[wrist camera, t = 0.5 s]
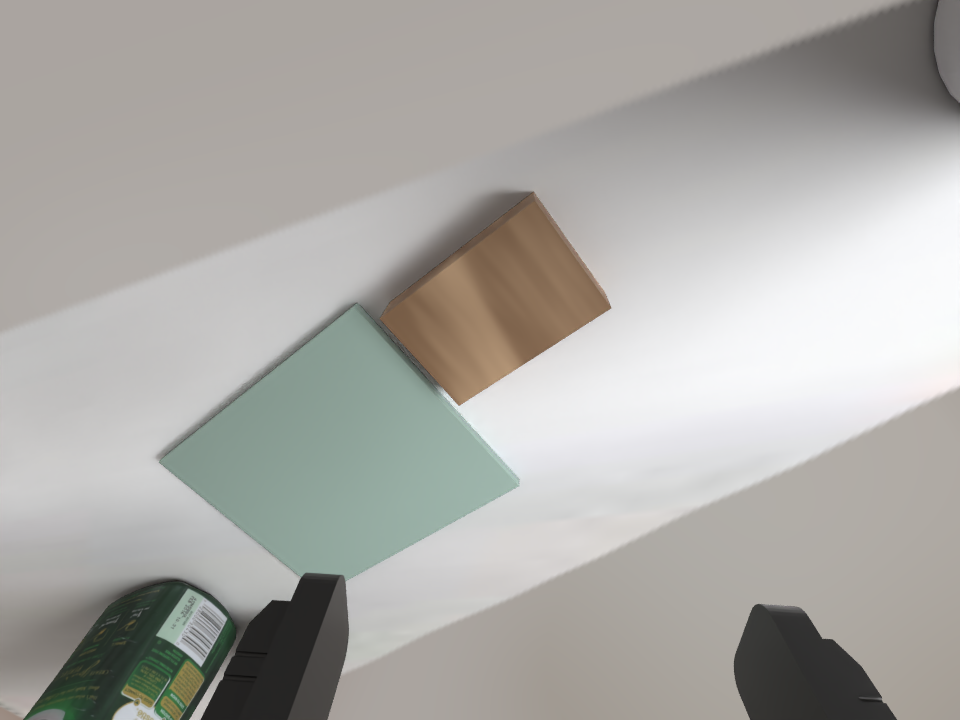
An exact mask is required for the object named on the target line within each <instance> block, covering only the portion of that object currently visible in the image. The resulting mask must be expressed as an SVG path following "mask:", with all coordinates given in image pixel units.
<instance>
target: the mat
mask: <svg viewBox="0 0 960 720" xmlns="http://www.w3.org/2000/svg"><path fill="white" fill-rule="evenodd" d="M159 463H160V464H162V465H163V466H164V467H165V468H166V469H168V470H169V471H170V472H171V473H173V474H174V475H175V476H176V477H178V478H179V479H180V480H181V481H183V482H184V483H185V484H186V485H187V486H189V487H190V488H191V489H192V490H194V491H195V492H196V493H197V494H199V495H200V496H201V497H202V498H204V499H205V500H206V501H207V502H208V503H210V504H211V505H212V506H213V507H215V508H216V509H217V510H218V511H220V512H221V513H222V514H223V515H225V516H226V517H227V518H228V519H229V520H231V521H232V522H233V523H234V524H236V525H237V526H238V527H239V528H241V529H242V530H243V531H244V532H246V533H247V534H248V535H249V536H250V537H252V538H253V539H254V540H255V541H257V542H258V543H259V544H260V545H262V546H263V547H264V548H265V549H267V550H268V551H269V552H270V553H272V554H273V555H274V556H275V557H276V558H278V559H279V560H280V561H281V562H283V563H284V564H285V565H286V566H288V567H289V568H290V569H291V570H293V571H294V572H295V573H296V574H297V575H299V576H300V577H302V576H303V575H304V574H305V573H321V574H336V575H344V577H345V581H347V580H349V579H351V578H353V577H354V576H356V575H358V574H360V573H362V572H363V571H365V570H367V569H369V568H371V567H373V566H374V565H376V564H378V563H380V562H382V561H384V560H385V559H387V558H389V557H391V556H393V555H394V554H396V553H398V552H400V551H402V550H404V549H405V548H407V547H409V546H411V545H413V544H414V543H416V542H418V541H420V540H422V539H424V538H425V537H427V536H429V535H431V534H433V533H435V532H436V531H438V530H440V529H442V528H444V527H445V526H447V525H449V524H451V523H453V522H455V521H456V520H458V519H460V518H462V517H464V516H466V515H467V514H469V513H471V512H473V511H475V510H476V509H478V508H480V507H482V506H484V505H486V504H487V503H489V502H491V501H493V500H495V499H496V498H498V497H500V496H502V495H504V494H506V493H507V492H509V491H511V490H513V489H515V488H517V487H518V486H519V478H518V477H517V476H516V475H515V474H514V473H513V472H512V471H511V470H510V469H509V467H508V466H507V465H506V464H505V463H504V462H503V461H502V460H501V459H500V458H499V457H498V456H497V454H496V453H495V452H494V451H493V450H492V449H491V448H490V447H489V446H488V445H487V444H486V442H485V441H484V440H483V439H482V438H481V437H480V436H479V435H478V434H477V433H476V432H475V430H474V429H473V428H472V427H471V426H470V425H469V424H468V423H467V422H466V421H465V420H464V418H463V417H462V416H461V415H460V414H459V413H458V412H457V411H456V410H455V409H454V408H453V406H452V405H451V404H450V403H449V402H448V401H447V400H446V399H445V398H444V397H443V396H442V394H441V393H440V392H439V391H438V390H437V389H436V388H435V387H434V386H433V385H432V384H431V382H430V381H429V380H428V379H427V378H426V377H425V376H424V375H423V374H422V373H421V372H420V370H419V369H418V368H417V367H416V366H415V365H414V364H413V363H412V362H411V361H410V360H409V358H408V357H407V356H406V355H405V354H404V353H403V352H402V351H401V350H400V349H399V348H398V346H397V345H396V344H395V343H394V342H393V341H392V340H391V339H390V338H389V337H388V336H387V334H386V333H385V332H384V331H383V330H382V329H381V328H380V327H379V326H378V325H377V324H376V322H375V321H374V320H373V319H372V318H371V317H370V316H369V315H368V314H367V313H366V312H365V310H364V309H363V308H362V307H361V306H360V305H359V304H358V303H356V304H355V305H354V306H353V307H351V308H350V309H349V310H348V311H346V312H345V313H344V314H342V315H341V316H340V317H339V318H337V319H336V320H335V321H334V322H332V323H331V324H330V325H329V326H327V327H326V328H325V329H324V330H322V331H321V332H320V333H319V334H317V335H316V336H315V337H314V338H312V339H311V340H310V341H309V342H307V343H306V344H305V345H304V346H302V347H301V348H300V349H298V350H297V351H296V352H295V353H293V354H292V355H291V356H290V357H288V358H287V359H286V360H285V361H283V362H282V363H281V364H280V365H278V366H277V367H276V368H275V369H273V370H272V371H271V372H270V373H268V374H267V375H266V376H265V377H263V378H262V379H261V380H260V381H258V382H257V383H256V384H254V385H253V386H252V387H251V388H249V389H248V390H247V391H246V392H244V393H243V394H242V395H241V396H239V397H238V398H237V399H236V400H234V401H233V402H232V403H231V404H229V405H228V406H227V407H226V408H224V409H223V410H222V411H221V412H219V413H218V414H217V415H216V416H214V417H213V418H212V419H210V420H209V421H208V422H207V423H205V424H204V425H203V426H202V427H200V428H199V429H198V430H197V431H195V432H194V433H193V434H192V435H190V436H189V437H188V438H187V439H185V440H184V441H183V442H182V443H180V444H179V445H178V446H177V447H175V448H174V449H173V450H172V451H170V452H169V453H168V454H166V455H165V456H164V457H163V458H162V459H161V460H160V461H159Z"/></svg>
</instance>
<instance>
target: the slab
mask: <svg viewBox="0 0 960 720" xmlns="http://www.w3.org/2000/svg"><path fill="white" fill-rule="evenodd" d="M609 309H611V306H610V304H609V301H608V299H607V296H606V294H605V292H604V290H603V289H602V288H601V286H600V285H599V283H598V282H597V281H596V279H595V278H594V276H593V275H592V274H591V272H590V271H589V269H588V268H587V266H586V265H585V264H584V262H583V261H582V259H581V258H580V257H579V255H578V254H577V252H576V251H575V249H574V248H573V247H572V245H571V244H570V242H569V241H568V240H567V238H566V237H565V235H564V234H563V233H562V231H561V230H560V228H559V227H558V225H557V224H556V223H555V221H554V220H553V218H552V217H551V216H550V214H549V213H548V211H547V210H546V209H545V207H544V206H543V204H542V203H541V201H540V200H539V199H538V197H537V196H536V194H535V193H534V192H533V193H531V194H530V195H529V196H527V197H526V198H525V199H524V200H522V201H521V202H520V203H518V204H517V205H516V206H514V207H513V208H512V209H511V210H509V211H508V212H507V213H505V214H504V215H503V216H501V217H500V218H499V219H498V220H496V221H495V222H494V223H492V224H491V225H490V226H488V227H487V228H486V229H485V230H483V231H482V232H481V233H479V234H478V235H477V236H475V237H474V238H473V239H472V240H470V241H469V242H468V243H466V244H465V245H464V246H462V247H461V248H460V249H459V250H457V251H456V252H455V253H453V254H452V255H451V256H449V257H448V258H447V259H446V260H444V261H443V262H442V263H440V264H439V265H438V266H436V267H435V268H434V269H433V270H431V271H430V272H429V273H427V274H426V275H425V276H423V277H422V278H421V279H420V280H418V281H417V282H416V283H414V284H413V285H412V286H410V287H409V288H408V289H407V290H405V291H404V292H403V293H401V294H400V295H399V296H397V297H396V298H395V299H394V300H392V301H391V302H390V303H389V304H388V306H387V308H386V309H385V311H384V312H383V314H382V316H381V317H380V320H381V321H382V322H383V323H384V324H385V325H386V326H387V327H388V329H389V330H390V331H391V332H392V333H393V334H394V335H395V336H396V337H397V338H398V340H399V341H400V342H401V343H402V344H403V345H404V346H405V347H406V348H407V349H408V350H409V352H410V353H411V354H412V355H413V356H414V357H415V358H416V359H417V360H418V361H419V363H420V364H421V365H422V366H423V367H424V368H425V369H426V370H427V371H428V372H429V373H430V375H431V376H432V377H433V378H434V379H435V380H436V381H437V382H438V383H439V384H440V386H441V387H442V388H443V389H444V390H445V391H446V392H447V393H448V394H449V395H450V396H451V398H452V399H453V400H454V401H455V402H456V403H457V404H458V405H461V404H463V403H464V402H466V401H467V400H469V399H470V398H472V397H473V396H475V395H477V394H478V393H480V392H481V391H483V390H484V389H486V388H488V387H489V386H491V385H492V384H494V383H495V382H497V381H498V380H500V379H502V378H503V377H505V376H506V375H508V374H509V373H511V372H513V371H514V370H516V369H517V368H519V367H520V366H522V365H523V364H525V363H527V362H528V361H530V360H531V359H533V358H534V357H536V356H537V355H539V354H541V353H542V352H544V351H545V350H547V349H548V348H550V347H552V346H553V345H555V344H556V343H558V342H559V341H561V340H562V339H564V338H566V337H567V336H569V335H570V334H572V333H573V332H575V331H577V330H578V329H580V328H581V327H583V326H584V325H586V324H587V323H589V322H591V321H592V320H594V319H595V318H597V317H598V316H600V315H602V314H603V313H605V312H606V311H608V310H609Z"/></svg>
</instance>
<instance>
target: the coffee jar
mask: <svg viewBox="0 0 960 720" xmlns="http://www.w3.org/2000/svg"><path fill="white" fill-rule="evenodd" d="M235 639H236V628H235V625H234V623H233V621H232V620H231V618H230V616H229V613H228V612H227V610H226V609H225V608H224V607H223V606H222V605H221V604H220V603H219V602H218V601H217V600H216V599H215V598H214V597H212V596H211V595H209V594H207V593H205V592H203V591H201V590H199V589H197V588H194V587H192V586H190V585H188V584H186V583H184V582H177V581H174V582H166V583H161V584H157V585H153V586H149V587H146V588H143V589H141V590H138V591H135V592H133V593H131V594H128V595H126V596H124V597H122V598H120V599H119V600H117V601H115V602H114V603H112V604H111V605H110V606H108V608H107V609H106V610H105V611H104V612H103V614H102V615H101V616H100V618H99V619H98V620H97V621H96V623H95V624H94V625H93V627H92V628H91V629H90V631H89V632H88V633H87V635H86V636H85V637H84V639H83V640H82V641H81V643H80V644H79V646H78V647H77V648H76V650H75V651H74V653H73V654H72V655H71V657H70V658H69V659H68V661H67V662H66V663H65V665H64V666H63V668H62V669H61V670H60V672H59V673H58V674H57V676H56V677H55V678H54V680H53V681H52V682H51V684H50V685H49V686H48V688H47V689H46V690H45V692H44V693H43V694H42V696H41V697H40V698H39V700H38V701H37V702H36V703H35V705H34V706H33V707H32V709H31V710H30V712H29V713H28V714H27V715H26V717H25V718H24V719H23V720H189V719H190V717H191V716H192V714H193V712H194V711H195V709H196V707H197V706H198V704H199V702H200V701H201V699H202V698H203V696H204V694H205V693H206V691H207V689H208V688H209V686H210V684H211V683H212V681H213V679H214V677H215V676H216V674H217V672H218V670H219V669H220V667H221V665H222V663H223V662H224V660H225V658H226V656H227V654H228V652H229V651H230V649H231V647H232V645H233V643H234V641H235Z"/></svg>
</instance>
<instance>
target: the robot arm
mask: <svg viewBox="0 0 960 720" xmlns="http://www.w3.org/2000/svg"><path fill="white" fill-rule="evenodd" d="M934 53H935V57H936V61H937V66H938V70H939V74H940V76H941V78H942V80H943V82H944V83H945V85H946V87H947V89H948V91H949V93H950V94H951V95H952V96H953V97H954V98H955V99H956V100H957V101H958V102H959V103H960V0H939V2H938V6H937V11H936V16H935V21H934ZM348 636H349V624H348V610H347V597H346V584H345V577H344V575H336V574H321V573H305V574H304V575H303V576H302V577H301V579H300V581H299V584H298V586H297V588H296V590H295V593H294V595H293V597H292V599H291V601H277V600H272V601H271V602H270V603H269V604H268V605H267V606H266V607H265V608H264V609H263V610H262V611H261V612H260V613H259V614H258V615H257V616H256V617H255V618H254V619H253V620H252V621H251V622H250V623H249V625H248V627H247V629H246V631H245V633H244V635H243V637H242V639H241V641H240V643H239V645H238V647H237V649H236V653H235V656H233V657H232V659H231V661H230V663H229V665H228V667H227V669H226V671H225V673H224V677H223V680H221V681H220V682H219V684H218V686H217V688H216V690H215V692H214V694H213V696H212V698H211V700H210V702H209V704H208V706H207V708H206V710H205V712H204V714H203V716H202V718H201V720H327V719H328V716H329V712H330V709H331V705H332V702H333V699H334V695H335V692H336V688H337V685H338V682H339V678H340V675H341V672H342V668H343V665H344V661H345V657H346V652H347V645H348ZM734 675H735V680H736V685H737V688H738V691H739V694H740V696H741V699H742V701H743V703H744V706H745V708H746V711H747V713H748V715H749V718H750V720H897V719H896V717H895V716H894V714H893V713H892V712H891V710H890V709H889V707H888V706H887V704H886V703H883V702H882V697H881V695H880V694H879V692H878V691H877V689H876V688H875V686H874V685H873V683H872V682H871V680H870V679H869V677H868V676H867V674H866V673H865V671H864V670H863V668H862V667H861V666H860V665H859V664H858V663H857V662H856V661H855V660H854V659H853V658H852V657H851V656H850V655H849V654H848V653H847V652H846V651H844V650H843V649H842V648H841V647H840V646H839V645H838V644H837V643H836V642H835V641H834V640H832V639H822V638H821V636H820V634H819V633H818V631H817V630H816V628H815V626H814V625H813V623H812V622H811V620H810V619H809V617H808V616H807V614H806V613H805V612H804V611H803V610H802V609H801V608H799V607H795V606H779V605H765V604H757V605H755V606H754V607H753V608H752V611H751V613H750V616H749V618H748V621H747V624H746V627H745V629H744V632H743V635H742V638H741V641H740V643H739V646H738V649H737V651H736V654H735V659H734Z"/></svg>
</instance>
